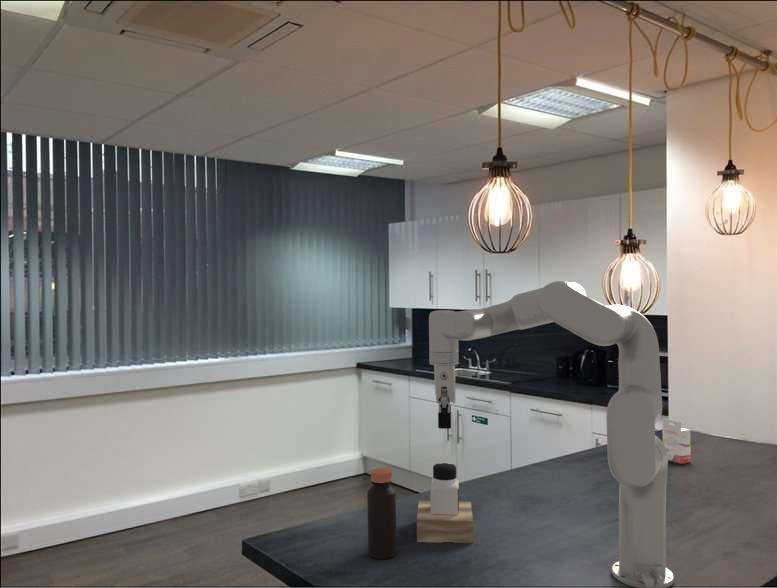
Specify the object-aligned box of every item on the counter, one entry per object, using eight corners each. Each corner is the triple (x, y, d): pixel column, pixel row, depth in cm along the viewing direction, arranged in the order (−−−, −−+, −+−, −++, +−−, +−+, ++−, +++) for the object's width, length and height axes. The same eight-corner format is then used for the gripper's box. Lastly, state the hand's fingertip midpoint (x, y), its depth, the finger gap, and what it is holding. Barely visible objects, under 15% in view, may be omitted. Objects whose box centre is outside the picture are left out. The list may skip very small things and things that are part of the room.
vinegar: (380, 545, 160) (379, 465, 159) (402, 553, 155) (401, 470, 155) (362, 555, 154) (361, 471, 154) (384, 562, 150) (383, 477, 150)
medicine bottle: (458, 515, 164) (458, 468, 164) (430, 514, 165) (430, 468, 165) (458, 505, 171) (458, 460, 171) (431, 504, 172) (431, 460, 172)
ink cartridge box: (691, 462, 229) (691, 421, 228) (681, 464, 227) (681, 422, 226) (671, 456, 236) (671, 416, 236) (661, 458, 234) (661, 418, 234)
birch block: (473, 544, 161) (473, 520, 161) (416, 543, 162) (416, 519, 162) (471, 523, 175) (470, 501, 175) (419, 522, 176) (418, 500, 176)
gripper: (459, 362, 158) (459, 431, 159) (458, 354, 176) (458, 417, 176) (428, 362, 159) (429, 431, 159) (430, 354, 176) (431, 417, 177)
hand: (444, 424), depth 168 cm, fingers open, 9 cm apart
